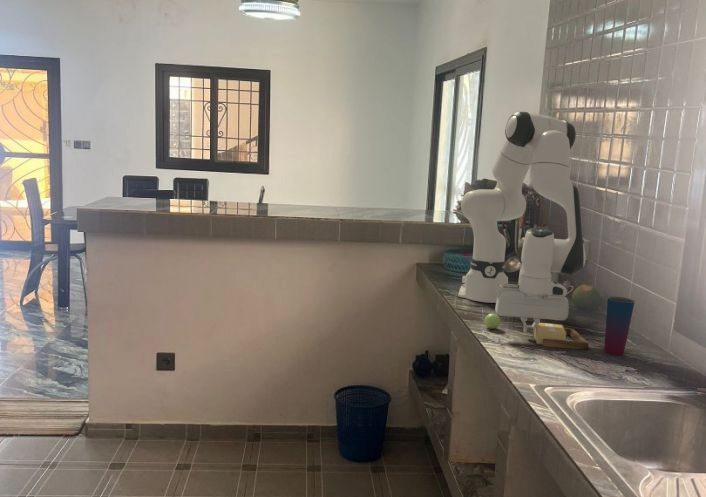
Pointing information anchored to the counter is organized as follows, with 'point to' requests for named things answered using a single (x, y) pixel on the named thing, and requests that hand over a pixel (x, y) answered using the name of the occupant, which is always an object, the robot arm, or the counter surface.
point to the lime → (492, 321)
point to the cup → (617, 324)
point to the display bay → (577, 344)
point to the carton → (549, 332)
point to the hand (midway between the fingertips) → (529, 332)
